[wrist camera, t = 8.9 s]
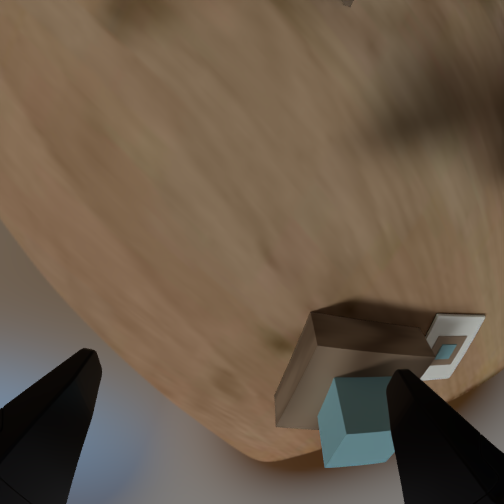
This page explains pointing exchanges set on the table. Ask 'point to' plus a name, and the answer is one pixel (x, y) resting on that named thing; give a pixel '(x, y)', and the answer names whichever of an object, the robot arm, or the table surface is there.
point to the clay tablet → (347, 2)
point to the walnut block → (343, 362)
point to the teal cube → (355, 422)
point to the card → (450, 342)
